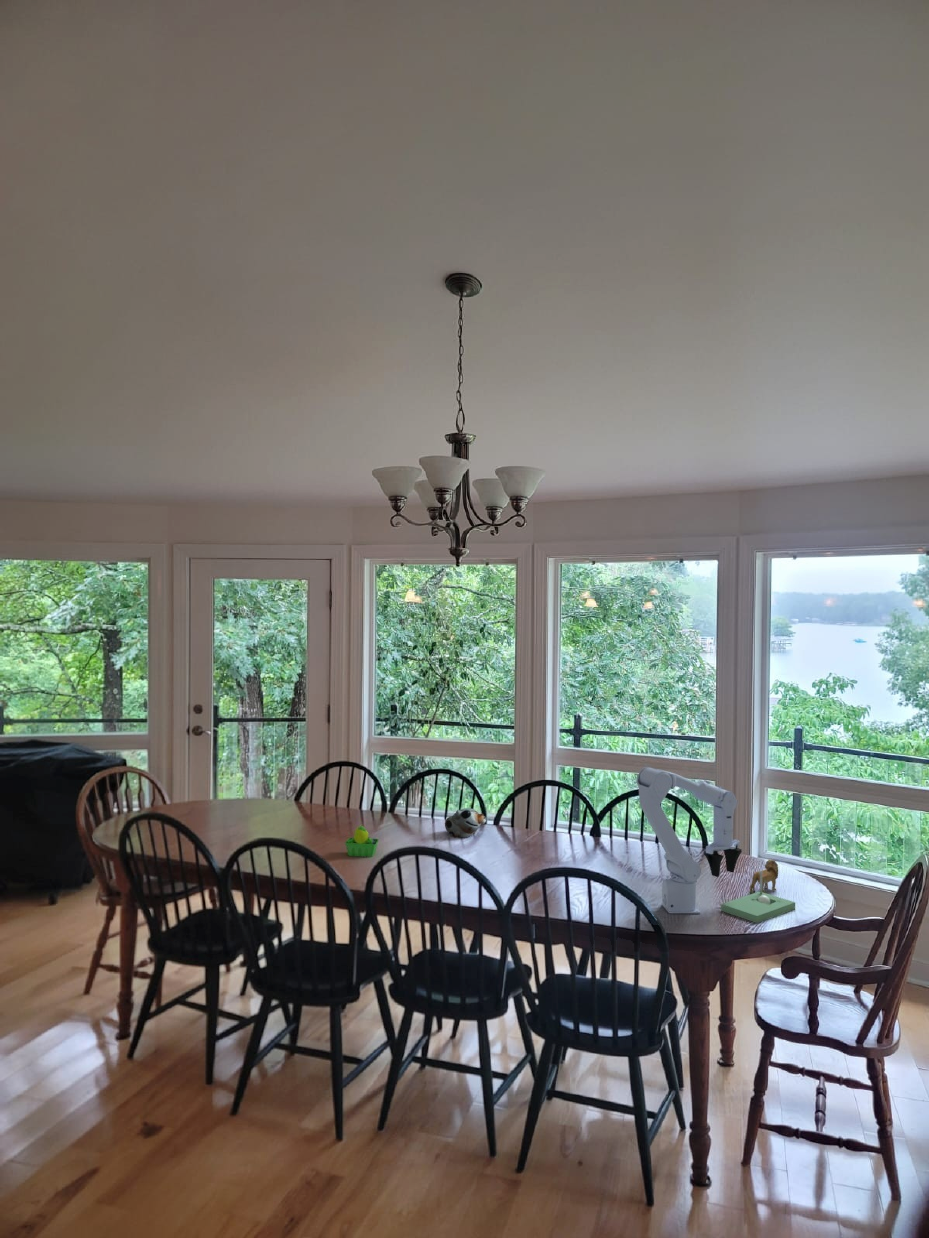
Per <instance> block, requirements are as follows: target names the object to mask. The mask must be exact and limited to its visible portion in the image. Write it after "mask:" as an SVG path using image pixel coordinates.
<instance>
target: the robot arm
mask: <svg viewBox="0 0 929 1238" xmlns="http://www.w3.org/2000/svg"><path fill="white" fill-rule="evenodd" d="M635 783H636V785H637V787H638V797H639V799H638V800H639V806H640V808H641V810H642V812H643V813H644V815H645V817H646V819H647V821H648V823H649V825H650V827H651V829H652V830H653V831H654V833H655V836H656V837H657V839H658V841H659V843H660V844H661V846H662V848H663V850H664V852H665V853H664V855H663V858H664V859H665V862H666V863H665V865H666V869H667V871H668V872H669V874H670V875H669V876H670V877H669V878H667V879H666V878H665V879H663V880H662V884H661V885H662V886H661V887H662V888H661V889H662V891H661V892H662V894H661V895H662V896H661V897H662V898H661V899H662V901H661V906H662V907H663V908H664V909H665V910H666V912H667V913H669V914H701V911H700V910H699V908H698V907H696V906H697V904H696V903H697V902H696V901H697V900H696V899H697V897H696V896H697V895H696V894H697V893H696V892H697V890H696V888H697V887H696V886H697V881H698V880H699V878H700V877H701V874H702V868H701V865H700V864H699V863H698V862H697V861H696V860H694V859H693V856H692V855H691V854H690V853H689V852H688V851H687V850H686V849H685V848H684V846H683V845H682V843H681V841H680V839H679V837H678V835H677V833H676V832H675V830H674V828H673V827H672V824H671V822H670V821H669V819H668V816H667V815H666V813H665V811H664V810H663V807H662V806H661V803H663V801H664V799H665V798H666V796H667V794H669V791H670V790H674V789H675V788H680V789H682V790H685V791H688V792H690V793H692V795H693V797H694V798H695V799H696V800H699V801H701V802H703V803H706V804H709V805H711V806H712V807H713V818H712V819H713V823H712V824H713V829H712V830H713V832H712V834H713V835H712V837H713V839H712V840H713V841H712V842H711V843H710V844H709V845H706V846H705V850H704V854H703V855H704V856H705V858H706V860H707V863H708V866H709V868H710V873H711V876H713V877H716V878H719V877H720V874H721V873H720V872H721V864H722V861H723V858H725V869H726V871H727V872H729V873H731V874H732V873H735V869H736V865H737V863H738V860H739V857H740V855H741V854H742V852H743V851H742V848H740V847H741V841H740V840H738V839H734V815H735V809H736V808H737V806H738V800H737V798H736V795H735V793H734V792H732V791H729V790H726V789H723V787H722V786H720V785H717V786H716V785H714V784H712V783H711V781H709V780H707V779H704V780H699V781H696V782H695V781H693V780H690V779H689V778H687V777H684V776H682V775H679V774H677V773H675V772H671V771H667V770H663V769H657V768H653V767H651V766H644V767H643V768H642V769H640V770H639V772H638V774H637V777H636V780H635ZM722 851H723V853H724V855H723V854H720V853H719V852H722Z"/></svg>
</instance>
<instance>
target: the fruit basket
mask: <svg viewBox="0 0 929 1238" xmlns="http://www.w3.org/2000/svg"><path fill="white" fill-rule="evenodd" d="M378 843H379V838H371V837H369V832H368V831H367V829H366V828H365V827H364V826H363V825H359V826H358V827H356V829H355V831H354V834H353V837H349V838H348V839H346V841H344V844H345V846H346V847H345V848H346V851H347V856H348V857H363V856H364V857H365V858H366V856H367V857H368V858H373V856H374V855H375V854H374V853H376V851H377V848H378Z"/></svg>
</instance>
